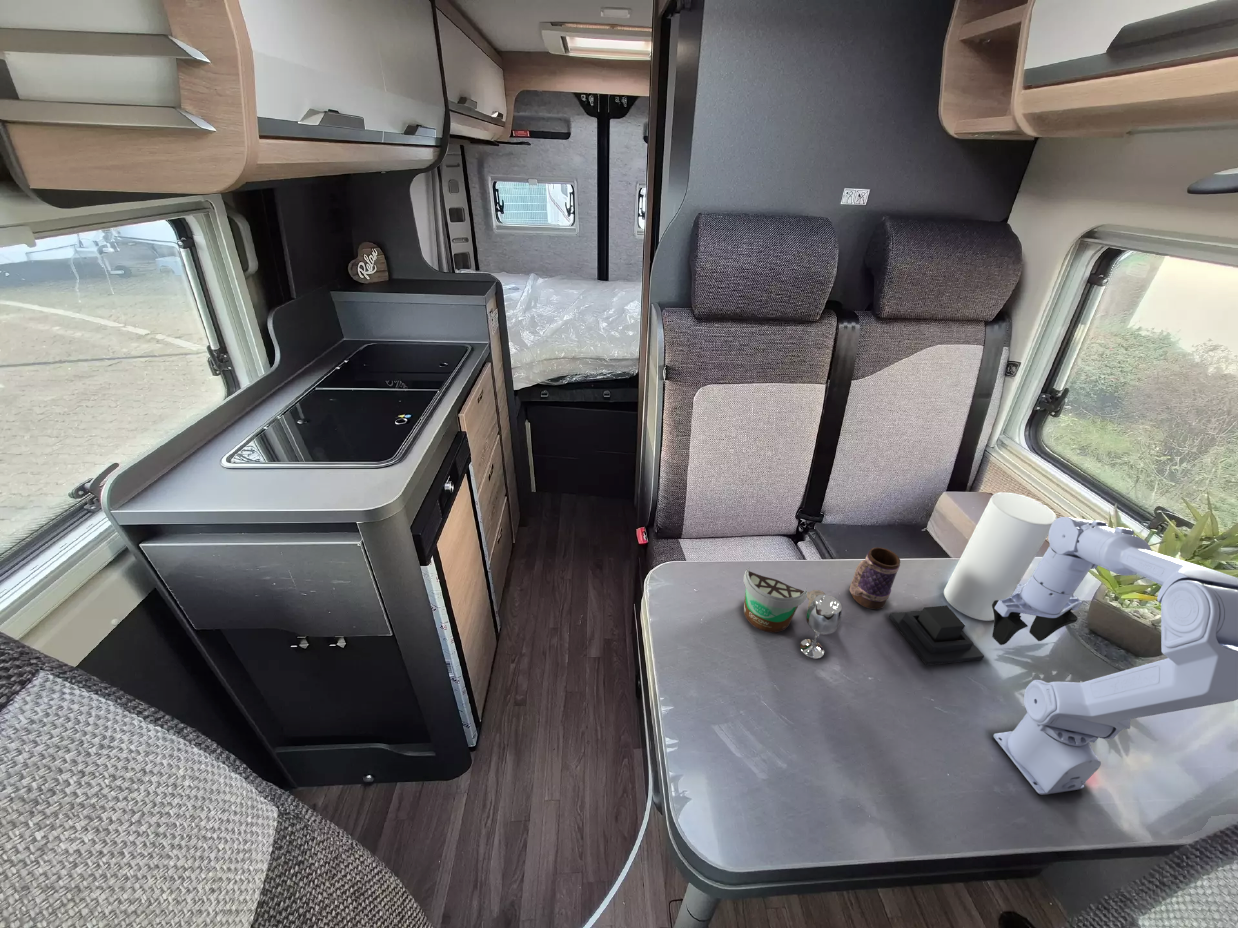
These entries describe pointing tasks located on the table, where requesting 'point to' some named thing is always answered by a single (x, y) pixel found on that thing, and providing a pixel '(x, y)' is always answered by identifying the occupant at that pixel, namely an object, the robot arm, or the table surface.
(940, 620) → the black block
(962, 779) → the table surface
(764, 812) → the table surface
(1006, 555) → the tall pillar cylinder
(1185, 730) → the table surface
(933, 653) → the base pad
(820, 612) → the wineglass
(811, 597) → the toy character
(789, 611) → the food container
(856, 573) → the mug
